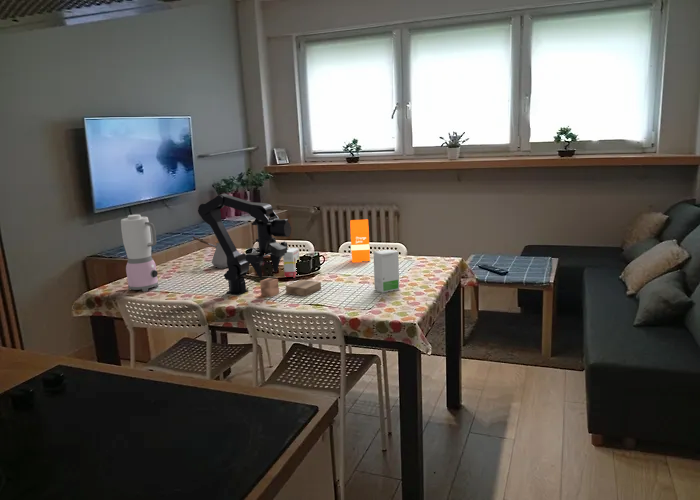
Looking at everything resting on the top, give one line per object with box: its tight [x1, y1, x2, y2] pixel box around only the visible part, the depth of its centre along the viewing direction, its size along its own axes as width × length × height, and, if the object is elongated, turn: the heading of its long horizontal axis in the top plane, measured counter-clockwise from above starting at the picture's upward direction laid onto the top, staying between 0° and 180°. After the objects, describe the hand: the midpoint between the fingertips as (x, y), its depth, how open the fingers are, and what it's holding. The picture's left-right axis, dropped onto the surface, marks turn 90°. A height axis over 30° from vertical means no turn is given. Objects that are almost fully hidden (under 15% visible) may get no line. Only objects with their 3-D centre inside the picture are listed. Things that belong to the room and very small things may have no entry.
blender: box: [120, 214, 159, 292], centre depth 238 cm, size 16×12×32 cm
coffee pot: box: [191, 236, 228, 269], centre depth 274 cm, size 21×12×15 cm, turn 78°
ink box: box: [282, 247, 300, 279], centre depth 249 cm, size 9×5×12 cm, turn 166°
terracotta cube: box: [259, 277, 280, 298], centre depth 222 cm, size 5×5×6 cm
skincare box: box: [372, 249, 400, 294], centre depth 219 cm, size 8×7×16 cm
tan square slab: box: [285, 279, 322, 297], centre depth 225 cm, size 10×10×3 cm
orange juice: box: [349, 219, 371, 263], centre depth 270 cm, size 8×9×20 cm
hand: (268, 274), depth 221 cm, fingers open, 9 cm apart
